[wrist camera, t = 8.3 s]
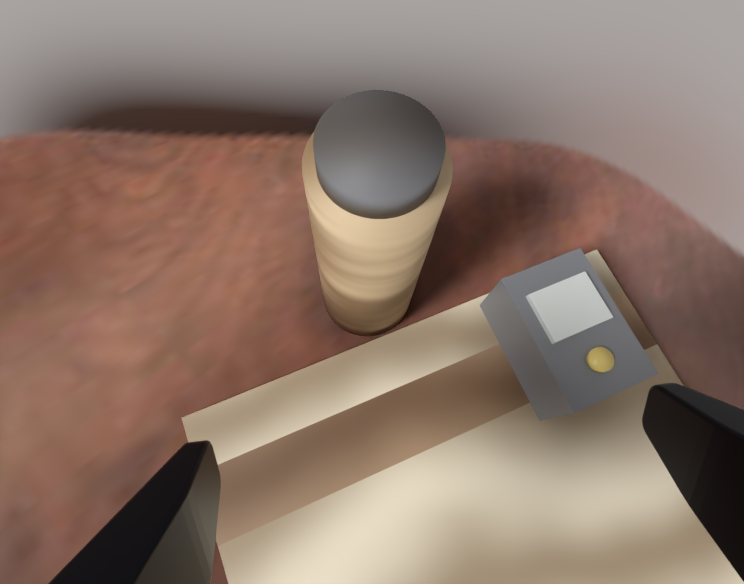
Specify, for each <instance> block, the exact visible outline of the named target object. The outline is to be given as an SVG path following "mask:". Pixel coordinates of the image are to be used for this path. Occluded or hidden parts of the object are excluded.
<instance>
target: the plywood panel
mask: <svg viewBox="0 0 744 584" xmlns="http://www.w3.org/2000/svg"><path fill="white" fill-rule="evenodd" d="M585 256H586V258H587V259H588V261H589V262H590V264H591V266H592V267H593V269H594V271H595V272H596V274H597V275H598V277H599V279H600V280H601V282H602V283H603V285H604V287H605V288H606V290H607V291H608V293H609V295H610V296H611V298H612V299H613V301H614V303H615V304H616V306H617V308H618V309H619V311H620V312H621V314H622V316H623V317H624V319H625V320H626V322H627V324H628V325H629V327H630V328H631V330H632V332H633V333H634V335H635V336H636V338H637V340H638V341H639V343H640V345H641V346H642V348H643V349H644V351H645V353H646V354H647V356H648V357H649V359H650V361H651V362H652V364H653V365H654V367H655V369H656V370H657V372H658V373H659V374H657V375H655V376H653V377H651V378H649V379H647V380H644V381H642V382H640V383H638V384H636V385H634V386H632V387H629V388H627V389H625V390H623V391H621V392H619V393H617V394H615V395H612V396H610V397H608V398H606V399H604V400H602V401H600V402H598V403H595V404H593V405H591V406H589V407H587V408H585V409H583V410H580V411H578V412H576V413H574V414H569V415H565V416H560V417H556V418H551V419H546V420H542V421H540V420H539V419H538V417H537V415H536V413H535V411H534V409H533V407H532V405H531V403H530V401H529V399H528V397H527V396H526V394H525V392H524V390H523V388H522V386H521V384H520V382H519V380H518V378H517V376H516V374H515V373H514V371H513V369H512V367H511V365H510V363H509V361H508V359H507V357H506V355H505V353H504V351H503V350H502V348H501V346H500V344H499V342H498V340H497V338H496V336H495V334H494V332H493V330H492V328H491V327H490V325H489V323H488V321H487V319H486V317H485V315H484V313H483V311H482V309H481V307H480V304H481V303H482V302H483V300H484V299H485V298H486V297H487V296H488V294H489V293H488V294H486V295H483V296H481V297H478V298H476V299H473V300H471V301H469V302H466V303H464V304H461V305H459V306H456V307H454V308H451V309H449V310H446V311H444V312H441V313H439V314H436V315H434V316H432V317H429V318H427V319H424V320H422V321H419V322H417V323H414V324H412V325H409V326H407V327H404V328H402V329H400V330H397V331H395V332H392V333H390V334H387V335H385V336H382V337H380V338H377V339H375V340H372V341H370V342H367V343H365V344H363V345H360V346H358V347H355V348H353V349H350V350H348V351H345V352H343V353H340V354H338V355H335V356H333V357H331V358H328V359H326V360H323V361H321V362H318V363H316V364H313V365H311V366H308V367H306V368H303V369H301V370H298V371H296V372H294V373H291V374H289V375H286V376H284V377H281V378H279V379H276V380H274V381H271V382H269V383H266V384H264V385H262V386H259V387H257V388H254V389H252V390H249V391H247V392H244V393H242V394H239V395H237V396H234V397H232V398H229V399H227V400H225V401H222V402H220V403H217V404H215V405H212V406H210V407H207V408H205V409H202V410H200V411H197V412H195V413H193V414H190V415H188V416H185V417H183V418H182V421H183V425H184V428H185V432H186V435H187V439H188V442H195V441H203V440H208V441H210V442H211V444H212V446H213V449H214V453H215V457H216V461H217V464H218V468H219V472H220V477H221V490H220V500H219V510H218V520H217V530H216V541H217V544H218V548H219V551H220V555H221V559H222V562H223V566H224V569H225V573H226V576H227V580H228V583H229V584H744V582H743V580H742V579H741V578H740V576H739V575H738V574H737V572H736V571H735V569H734V568H733V567H732V565H731V564H730V562H729V561H728V560H727V558H726V557H725V556H724V554H723V553H722V551H721V550H720V549H719V547H718V546H717V544H716V543H715V542H714V540H713V539H712V538H711V536H710V535H709V533H708V532H707V531H706V529H705V528H704V526H703V525H702V524H701V522H700V521H699V520H698V518H697V517H696V515H695V514H694V512H693V511H692V509H691V508H690V507H689V505H688V503H687V502H686V500H685V499H684V497H683V496H682V494H681V492H680V491H679V489H678V487H677V486H676V484H675V482H674V481H673V479H672V477H671V475H670V474H669V472H668V470H667V469H666V467H665V465H664V464H663V462H662V460H661V459H660V457H659V455H658V453H657V452H656V450H655V448H654V447H653V445H652V443H651V442H650V440H649V438H648V437H647V435H646V433H645V431H644V428H643V425H642V416H643V412H644V408H645V404H646V400H647V396H648V392H649V389H650V388H651V387H652V386H654V385H657V384H665V383H677V384H680V385H682V386H683V384H682V382H681V381H680V379H679V378H678V376H677V375H676V373H675V371H674V370H673V368H672V367H671V365H670V364H669V362H668V360H667V359H666V357H665V356H664V354H663V353H662V351H661V349H660V348H659V346H658V345H657V343H656V342H655V340H654V338H653V337H652V335H651V334H650V332H649V331H648V329H647V327H646V326H645V324H644V323H643V321H642V320H641V318H640V316H639V315H638V313H637V312H636V310H635V309H634V307H633V305H632V304H631V302H630V301H629V299H628V298H627V296H626V294H625V293H624V291H623V290H622V288H621V287H620V285H619V284H618V282H617V280H616V279H615V277H614V276H613V274H612V273H611V271H610V269H609V268H608V266H607V265H606V263H605V262H604V260H603V258H602V257H601V255H600V254H599V252H598V251H597V250H594V251H592V252H589V253H587V254H585Z"/></svg>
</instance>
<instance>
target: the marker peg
mask: <svg viewBox="0 0 744 584" xmlns="http://www.w3.org/2000/svg"><path fill="white" fill-rule="evenodd" d="M302 174H303V180H304V186H305V191H306V197H307V203H308V209H309V215H310V221H311V226H312V232H313V238H314V244H315V250H316V256H317V262H318V267H319V273H320V279H321V285H322V291H323V297H324V302H325V307H326V310H327V312H328V314H329V316H330V317H331V319H332V320H333V321H334V322H335V323H336V324H337V325H338V326H339V327H340V328H342V329H343V330H345V331H347V332H349V333H352V334H355V335H359V336H375V335H379V334H383V333H385V332H387V331H389V330H391V329H392V328H394V327H395V326H396V325H397V324H398V323H399V322H400V321H401V320H402V318H403V317H404V315H405V313H406V311H407V309H408V306H409V303H410V300H411V297H412V295H413V292H414V289H415V286H416V283H417V280H418V277H419V275H420V272H421V269H422V266H423V263H424V260H425V257H426V255H427V252H428V249H429V246H430V243H431V240H432V237H433V235H434V232H435V229H436V226H437V223H438V220H439V217H440V215H441V212H442V209H443V206H444V203H445V200H446V197H447V195H448V192H449V189H450V186H451V182H452V176H453V165H452V158H451V155H450V152H449V149H448V147H447V145H446V143H445V137H444V134H443V131H442V128H441V126H440V124H439V122H438V121H437V119H436V118H435V116H434V115H433V114H432V113H431V112H430V111H429V110H428V109H427V108H426V107H425V106H423V105H422V104H420V103H419V102H418V101H416V100H414V99H412V98H410V97H408V96H405V95H402V94H399V93H396V92H391V91H382V90H371V91H363V92H359V93H355V94H352V95H349V96H347V97H345V98H342V99H341V100H339V101H337V102H336V103H335V104H333V105H332V106H331V107H330V108H328V110H327V111H326V112H325V113H324V114H323V115H322V117H321V118H320V120H319V122H318V124H317V126H316V129H315V131H314V133H313V134H312V136H311V137H310V139H309V140H308V142H307V145H306V147H305V150H304V153H303V159H302Z"/></svg>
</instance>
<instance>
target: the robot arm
mask: <svg viewBox="0 0 744 584" xmlns="http://www.w3.org/2000/svg"><path fill="white" fill-rule="evenodd" d="M642 425H643V428H644V431H645V433H646V435H647V437H648V438H649V440H650V442H651V443H652V445H653V447H654V448H655V450H656V452H657V453H658V455H659V457H660V459H661V460H662V462H663V464H664V465H665V467H666V469H667V470H668V472H669V474H670V475H671V477H672V479H673V481H674V482H675V484H676V486H677V487H678V489H679V491H680V492H681V494H682V496H683V497H684V499H685V500H686V502H687V503H688V505H689V507H690V508H691V509H692V511H693V512H694V514H695V515H696V517H697V518H698V520H699V521H700V522H701V524H702V525H703V526H704V528H705V529H706V531H707V532H708V533H709V535H710V536H711V538H712V539H713V540H714V542H715V543H716V544H717V546H718V547H719V549H720V550H721V551H722V553H723V554H724V556H725V557H726V558H727V560H728V561H729V562H730V564H731V565H732V567H733V568H734V569H735V571H736V572H737V574H738V575H739V576H740V578H741V579H742V580H743V582H744V410H742V409H740V408H737V407H735V406H732V405H730V404H727V403H725V402H722V401H720V400H717V399H715V398H712V397H710V396H707V395H705V394H702V393H700V392H697V391H695V390H692V389H690V388H687V387H685V386H682V385H680V384H677V383H665V384H657V385H654V386H652V387H651V388H650V389H649V392H648V396H647V400H646V404H645V408H644V412H643V416H642ZM220 490H221V477H220V472H219V468H218V464H217V461H216V457H215V453H214V449H213V446H212V444H211V442H210V441H208V440H203V441H195V442H189V443H186V444H184V445H183V446H182V447H181V448H180V449H179V450H178V451H177V452H176V453H175V454H174V455H173V456H172V457H171V458H170V459H169V460H168V461H167V462H166V463H165V464H164V465H163V466H162V468H161V469H160V470H159V471H158V472H157V473H156V474H155V475H154V476H153V477H152V478H151V479H150V480H149V481H148V482H147V483H146V484H145V485H144V486H143V487H142V488H141V489H140V490H139V491H138V492H137V493H136V494H135V495H134V496H133V497H132V498H131V499H130V500H129V501H128V502H127V503H126V504H125V505H124V507H123V508H122V509H121V510H120V511H119V512H118V513H117V514H116V515H115V516H114V517H113V518H112V519H111V520H110V521H109V522H108V523H107V524H106V525H105V526H104V527H103V528H102V529H101V530H100V531H99V532H98V533H97V534H96V535H95V536H94V537H93V538H92V539H91V540H90V541H89V542H88V543H87V544H86V546H85V547H84V548H83V549H82V550H81V551H80V552H79V553H78V554H77V555H76V556H75V557H74V558H73V559H72V560H71V561H70V562H69V563H68V564H67V565H66V566H65V567H64V568H63V569H62V570H61V571H60V572H59V573H58V574H57V575H56V576H55V577H54V578H53V579H52V580H51V581H50V582H49V583H48V584H210V581H211V576H212V568H213V559H214V549H215V540H216V530H217V520H218V510H219V500H220Z"/></svg>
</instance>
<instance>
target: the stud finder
mask: <svg viewBox="0 0 744 584" xmlns="http://www.w3.org/2000/svg"><path fill="white" fill-rule="evenodd" d="M480 307H481V309H482V311H483V313H484V315H485V317H486V319H487V321H488V323H489V325H490V327H491V328H492V330H493V332H494V334H495V336H496V338H497V340H498V342H499V344H500V346H501V348H502V350H503V351H504V353H505V355H506V357H507V359H508V361H509V363H510V365H511V367H512V369H513V371H514V373H515V374H516V376H517V378H518V380H519V382H520V384H521V386H522V388H523V390H524V392H525V394H526V396H527V397H528V399H529V401H530V403H531V405H532V407H533V409H534V411H535V413H536V415H537V417H538V419H539V420H540V421H542V420H546V419H551V418H556V417H560V416H565V415H569V414H574V413H576V412H578V411H580V410H583V409H585V408H587V407H589V406H591V405H593V404H595V403H598V402H600V401H602V400H604V399H606V398H608V397H610V396H612V395H615V394H617V393H619V392H621V391H623V390H625V389H627V388H629V387H632V386H634V385H636V384H638V383H640V382H642V381H644V380H647V379H649V378H651V377H653V376H655V375H657V374H659V373H658V372H657V370H656V369H655V367H654V365H653V364H652V362H651V361H650V359H649V357H648V356H647V354H646V353H645V351H644V349H643V348H642V346H641V345H640V343H639V341H638V340H637V338H636V336H635V335H634V333H633V332H632V330H631V328H630V327H629V325H628V324H627V322H626V320H625V319H624V317H623V316H622V314H621V312H620V311H619V309H618V308H617V306H616V304H615V303H614V301H613V299H612V298H611V296H610V295H609V293H608V291H607V290H606V288H605V287H604V285H603V283H602V282H601V280H600V279H599V277H598V275H597V274H596V272H595V271H594V269H593V267H592V266H591V264H590V262H589V261H588V259H587V258H586V256H585V254H584V253H583V251H582V250H581V248H578V249H576V250H573V251H571V252H568V253H566V254H563V255H561V256H558V257H556V258H553V259H551V260H548V261H546V262H543V263H541V264H538V265H536V266H533V267H531V268H528V269H526V270H523V271H521V272H518V273H516V274H513V275H511V276H508V277H505V278H503V279H501V280H500V281H499V282H498V283H497V285H496V286H495V287H494V288H493V290H492V291H491V292H490V293H489V294H488V296H487V297H486V298H485V299H484V300H483V302H482V303H481V304H480Z"/></svg>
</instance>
